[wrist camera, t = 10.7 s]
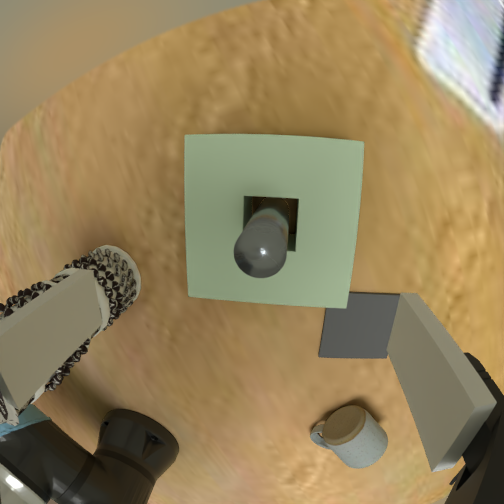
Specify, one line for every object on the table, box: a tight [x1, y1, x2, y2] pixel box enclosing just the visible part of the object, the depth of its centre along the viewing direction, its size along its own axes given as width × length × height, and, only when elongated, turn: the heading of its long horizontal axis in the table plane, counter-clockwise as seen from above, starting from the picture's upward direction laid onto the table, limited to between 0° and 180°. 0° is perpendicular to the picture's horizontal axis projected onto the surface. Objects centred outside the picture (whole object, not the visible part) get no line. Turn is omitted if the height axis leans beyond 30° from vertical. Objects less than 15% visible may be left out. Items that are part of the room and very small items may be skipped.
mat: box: [319, 292, 400, 358], centre depth 35 cm, size 9×9×1 cm
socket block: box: [184, 134, 364, 308], centre depth 29 cm, size 15×15×6 cm
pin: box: [234, 197, 289, 278], centre depth 25 cm, size 3×3×14 cm
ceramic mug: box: [310, 405, 388, 468], centre depth 37 cm, size 11×8×8 cm
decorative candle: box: [0, 245, 141, 426], centre depth 25 cm, size 9×9×25 cm
